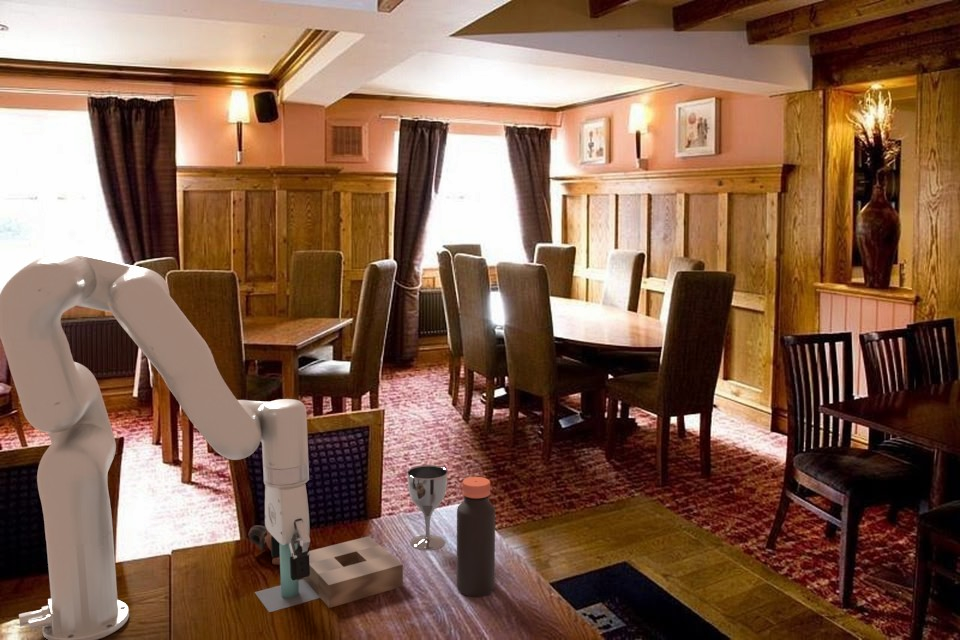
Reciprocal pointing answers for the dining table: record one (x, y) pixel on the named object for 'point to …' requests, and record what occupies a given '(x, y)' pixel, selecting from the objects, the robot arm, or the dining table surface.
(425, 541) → the wine glass
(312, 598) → the mat
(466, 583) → the bottle
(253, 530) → the brown hollow rounded piece
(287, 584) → the peg
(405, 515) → the dining table surface
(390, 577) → the hole block
